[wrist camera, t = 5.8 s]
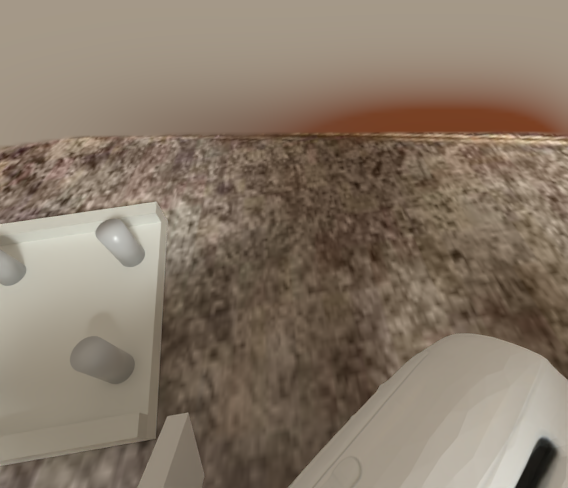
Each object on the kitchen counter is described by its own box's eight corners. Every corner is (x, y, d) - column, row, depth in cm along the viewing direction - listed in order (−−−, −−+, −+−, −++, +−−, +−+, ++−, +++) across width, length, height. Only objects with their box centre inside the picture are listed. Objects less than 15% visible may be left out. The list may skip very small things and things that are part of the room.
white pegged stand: (155, 438, 17) (115, 434, 13) (-68, 477, 16) (-172, 484, 13) (167, 220, 24) (144, 180, 21) (16, 243, 24) (-35, 206, 20)
